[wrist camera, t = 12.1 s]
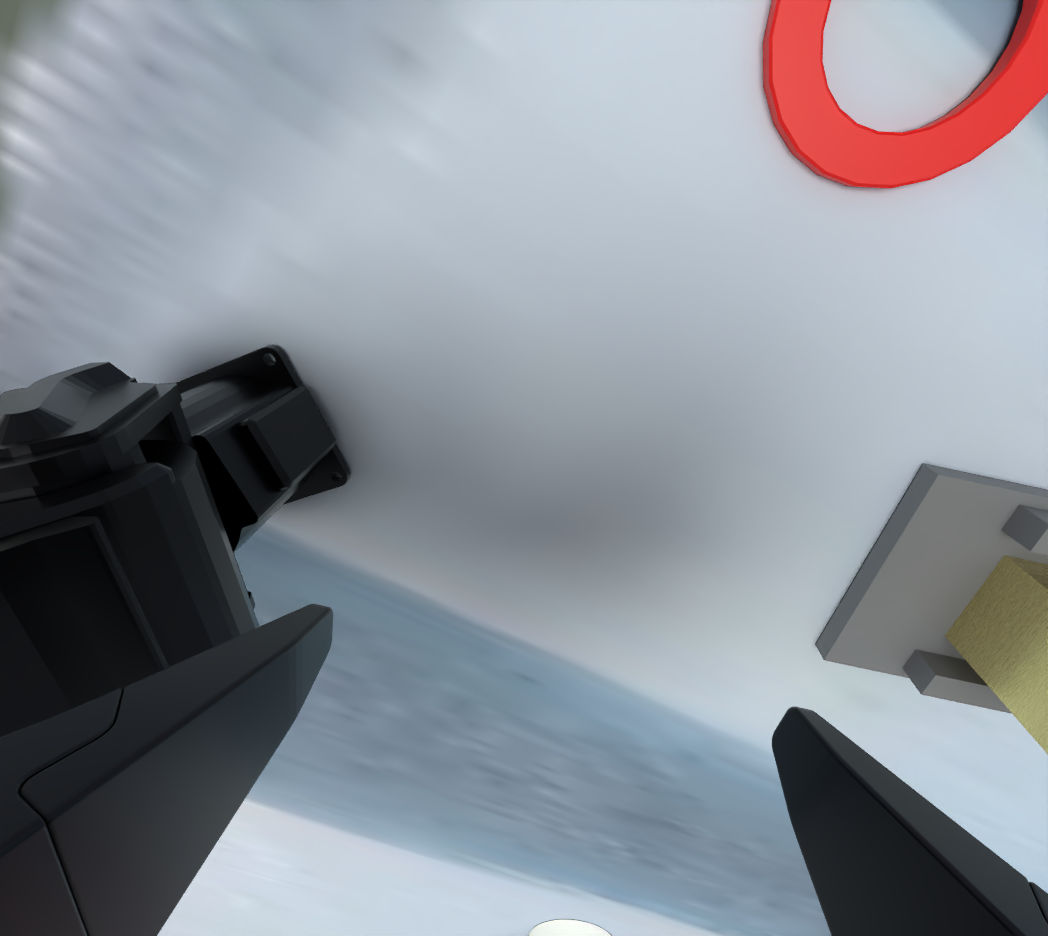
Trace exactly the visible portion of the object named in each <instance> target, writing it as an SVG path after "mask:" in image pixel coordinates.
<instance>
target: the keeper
mask: <svg viewBox="0 0 1048 936" xmlns="http://www.w3.org/2000/svg"><path fill="white" fill-rule="evenodd" d="M1004 555H1007V556H1011V557H1016V558H1021V559H1025V560H1030V561H1035V562H1039V563H1044V564H1048V490H1045V489H1040V488H1035V487H1031V486H1026V485H1021V484H1017V483H1012V482H1007V481H1002V480H998V479H993V478H988V477H984V476H979V475H974V474H969V473H965V472H960V471H955V470H951V469H946V468H941V467H936V466H932V465H927V464H923V465H922V466H921V468H920V470H919V471H918V473H917V475H916V476H915V478H914V480H913V481H912V483H911V485H910V487H909V488H908V490H907V492H906V493H905V495H904V497H903V498H902V500H901V502H900V503H899V505H898V507H897V508H896V510H895V512H894V513H893V515H892V517H891V518H890V520H889V522H888V523H887V525H886V527H885V528H884V530H883V532H882V534H881V535H880V537H879V539H878V540H877V542H876V544H875V545H874V547H873V549H872V550H871V552H870V554H869V555H868V557H867V559H866V560H865V562H864V564H863V565H862V567H861V569H860V570H859V572H858V574H857V575H856V577H855V579H854V581H853V582H852V584H851V586H850V587H849V589H848V591H847V592H846V594H845V596H844V597H843V599H842V601H841V602H840V604H839V606H838V607H837V609H836V611H835V612H834V614H833V616H832V617H831V619H830V621H829V623H828V624H827V626H826V628H825V629H824V631H823V633H822V634H821V636H820V638H819V639H818V641H817V643H816V644H815V645H816V646H817V648H818V650H819V652H820V654H821V655H822V657H823V659H824V660H826V661H831V662H835V663H840V664H845V665H850V666H854V667H859V668H864V669H869V670H873V671H878V672H883V673H888V674H892V675H897V676H902V677H907V678H910V679H911V681H912V682H913V684H914V685H915V686H916V688H917V689H918V691H919V692H920V693H921V694H922V695H927V696H931V697H936V698H941V699H946V700H950V701H955V702H960V703H965V704H969V705H974V706H979V707H983V708H988V709H993V710H998V711H1002V712H1007V713H1011V711H1010V710H1009V709H1008V708H1007V707H1006V706H1005V705H1004V703H1003V702H1002V701H1001V700H1000V699H999V698H998V697H997V695H996V694H995V693H994V692H993V691H992V690H991V689H990V687H989V686H988V685H987V684H986V683H985V682H984V681H983V679H982V678H981V677H980V676H979V675H978V674H977V672H976V671H975V670H974V669H973V668H972V667H971V666H970V664H969V663H968V662H967V661H966V660H965V659H964V658H963V656H962V655H961V654H960V653H959V652H958V651H957V650H956V648H955V647H954V646H953V645H952V644H951V643H950V642H949V640H948V639H947V638H946V637H945V635H946V633H947V632H948V631H949V629H950V628H951V627H952V625H953V624H954V622H955V621H956V620H957V618H958V617H959V616H960V614H961V613H962V612H963V610H964V609H965V608H966V606H967V605H968V604H969V602H970V601H971V600H972V598H973V597H974V596H975V594H976V593H977V591H978V590H979V589H980V587H981V586H982V585H983V583H984V582H985V581H986V579H987V578H988V577H989V575H990V574H991V573H992V571H993V570H994V569H995V567H996V566H997V565H998V563H999V562H1000V560H1001V559H1002V558H1003V556H1004Z"/></svg>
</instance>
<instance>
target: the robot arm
mask: <svg viewBox="0 0 1048 936" xmlns="http://www.w3.org/2000/svg"><path fill="white" fill-rule="evenodd" d="M269 353H270V354H272V355H273V356H274V357H275V360H276V362H275V363H273V362H271V361H270V359H269V356H268V355H269ZM334 471H337V472H339V473H340V474H341V476H342V477H338V476H336V475H335V473H334ZM350 475H351V472H350V469H349V468H348V466H347V464H346V462H345V460H344V459H343V457H342V455H341V453H340V451H339V450H338V448H337V446H336V444H335V438H334V436H333V435H332V433H331V431H330V429H329V427H328V426H327V424H326V422H325V420H324V418H323V417H322V415H321V413H320V411H319V409H318V408H317V406H316V404H315V402H314V400H313V399H312V397H311V395H310V393H309V391H308V390H307V389H305V388H304V387H303V385H302V383H301V381H300V380H299V378H298V376H297V374H296V372H295V371H294V369H293V367H292V365H291V363H290V362H289V360H288V358H287V356H286V355H285V353H284V352H283V350H282V349H281V348H279V347H278V346H275V345H269V346H266V347H263V348H261V349H258V350H256V351H254V352H251V353H249V354H246V355H244V356H241V357H239V358H236V359H234V360H231V361H229V362H226V363H224V364H222V365H219V366H217V367H214V368H212V369H209V370H207V371H204V372H202V373H199V374H197V375H194V376H192V377H190V378H187V379H185V380H182V381H180V382H177V383H166V384H150V383H137V381H136V379H135V378H130V377H129V376H127V375H126V374H125V373H123V372H122V371H120V370H119V369H118V368H116V367H115V366H114V365H112V364H111V363H109V362H103V363H89V364H86V365H83V366H79V367H76V368H73V369H70V370H66V371H63V372H60V373H57V374H54V375H51V376H48V377H46V378H43V379H41V380H39V381H37V382H35V383H33V384H32V385H31V386H29V388H20V389H14V390H10V391H6V392H4V393H2V394H1V395H0V936H157V935H158V933H159V932H160V930H161V929H162V927H163V925H164V924H165V922H166V921H167V919H168V918H169V916H170V915H171V913H172V911H173V910H174V908H175V907H176V905H177V904H178V902H179V901H180V899H181V897H182V896H183V894H184V893H185V891H186V890H187V888H188V886H189V885H190V883H191V882H192V880H193V879H194V877H195V876H196V874H197V872H198V871H199V869H200V868H201V866H202V865H203V863H204V862H205V860H206V858H207V857H208V855H209V854H210V852H211V851H212V849H213V848H214V846H215V844H216V843H217V841H218V840H219V838H220V837H221V835H222V833H223V832H224V830H225V829H226V827H227V826H228V824H229V823H230V821H231V819H232V818H233V816H234V815H235V813H236V812H237V810H238V809H239V807H240V805H241V804H242V802H243V801H244V799H245V798H246V796H247V795H248V793H249V791H250V790H251V788H252V787H253V785H254V784H255V782H256V780H257V779H258V777H259V776H260V774H261V773H262V771H263V770H264V768H265V766H266V765H267V763H268V762H269V760H270V759H271V757H272V756H273V754H274V752H275V751H276V749H277V748H278V746H279V745H280V743H281V741H282V740H283V738H284V737H285V735H286V734H287V732H288V731H289V729H290V727H291V726H292V724H293V722H294V721H295V719H296V717H297V715H298V713H299V711H300V710H301V708H302V706H303V704H304V702H305V699H306V697H307V695H308V693H309V691H310V689H311V687H312V685H313V683H314V681H315V679H316V677H317V675H318V673H319V671H320V669H321V667H322V665H323V663H324V661H325V659H326V656H327V654H328V652H329V649H330V646H331V642H332V628H333V611H332V609H331V608H330V607H326V606H322V605H317V604H311V605H308V606H305V607H303V608H301V609H299V610H296V611H294V612H292V613H290V614H287V615H285V616H283V617H280V618H278V619H276V620H274V621H271V622H269V623H267V624H265V625H262V626H260V627H259V624H258V621H257V618H256V615H255V613H254V607H255V603H254V600H253V597H252V594H251V592H249V591H247V589H246V586H245V583H244V581H243V578H242V575H241V572H240V569H239V567H238V564H237V561H236V558H235V555H234V552H235V551H236V550H237V549H238V548H239V547H240V546H241V545H242V544H243V543H245V542H246V541H247V540H248V539H249V538H250V537H251V536H252V535H253V534H254V533H255V532H256V531H257V530H258V529H259V528H260V527H261V526H262V525H263V524H264V523H265V522H266V521H267V520H268V519H269V518H270V517H271V516H272V515H273V514H274V513H275V512H276V511H277V510H278V509H279V508H280V507H281V506H282V505H283V504H286V503H289V502H293V501H296V500H299V499H302V498H305V497H308V496H311V495H314V494H318V493H321V492H324V491H327V490H330V489H333V488H336V487H340V486H342V485H344V484H345V483H346V482H347V481H348V480H349V478H350ZM772 749H773V753H774V757H775V761H776V765H777V769H778V773H779V777H780V781H781V785H782V789H783V793H784V797H785V801H786V805H787V809H788V812H789V816H790V819H791V823H792V826H793V829H794V832H795V835H796V838H797V841H798V844H799V846H800V849H801V852H802V855H803V857H804V860H805V863H806V866H807V869H808V871H809V874H810V877H811V880H812V882H813V885H814V888H815V891H816V894H817V896H818V899H819V902H820V905H821V908H822V910H823V913H824V916H825V919H826V921H827V924H828V927H829V930H830V933H831V935H832V936H1048V894H1047V893H1046V892H1045V891H1044V890H1042V889H1041V888H1040V887H1038V886H1037V885H1036V884H1034V883H1033V882H1028V880H1027V879H1026V877H1024V876H1023V875H1022V874H1021V873H1019V872H1018V871H1017V870H1016V869H1014V868H1013V867H1012V866H1010V865H1009V864H1008V863H1007V862H1005V861H1004V860H1003V859H1001V858H1000V857H999V856H998V855H996V854H995V853H994V852H993V851H991V850H990V849H989V848H987V847H986V846H985V845H984V844H982V843H981V842H980V841H979V840H977V839H976V838H975V837H973V836H972V835H971V834H970V833H968V832H967V831H966V830H965V829H963V828H962V827H961V826H959V825H958V824H957V823H956V822H954V821H953V820H952V819H951V818H949V817H948V816H947V815H945V814H944V813H943V812H942V811H940V810H939V809H938V808H937V807H935V806H934V805H933V804H931V803H930V802H929V801H928V800H926V799H925V798H924V797H923V796H921V795H920V794H919V793H917V792H916V791H915V790H914V789H912V788H911V787H910V786H909V785H907V784H906V783H905V782H903V781H902V780H901V779H900V778H898V777H897V776H896V775H895V774H893V773H892V772H891V771H889V770H888V769H887V768H886V767H884V766H883V765H882V764H880V763H879V762H878V761H877V760H875V759H874V758H873V757H872V756H870V755H869V754H868V753H866V752H865V751H864V750H863V749H861V748H860V747H859V746H858V745H856V744H855V743H854V742H852V741H851V740H850V739H849V738H847V737H846V736H845V735H844V734H842V733H841V732H840V731H838V730H837V729H836V728H835V727H833V726H832V725H831V724H830V723H828V722H827V721H826V720H824V719H823V718H822V717H821V716H819V715H818V714H817V713H815V712H814V711H812V710H809V709H804V708H799V707H791V708H789V709H788V710H787V712H786V713H785V715H784V717H783V718H782V720H781V721H780V723H779V725H778V726H777V728H776V730H775V731H774V733H773V737H772Z"/></svg>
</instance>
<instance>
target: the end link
mask: <svg viewBox="0 0 1048 936" xmlns="http://www.w3.org/2000/svg"><path fill="white" fill-rule="evenodd" d="M945 637H946V638H947V639H948V640H949V642H950V643H951V644H952V645H953V646H954V647H955V648H956V650H957V651H958V652H959V653H960V654H961V655H962V656H963V658H964V659H965V660H966V661H967V662H968V663H969V664H970V666H971V667H972V668H973V669H974V670H975V671H976V672H977V674H978V675H979V676H980V677H981V678H982V679H983V681H984V682H985V683H986V684H987V685H988V686H989V687H990V689H991V690H992V691H993V692H994V693H995V694H996V695H997V697H998V698H999V699H1000V700H1001V701H1002V702H1003V703H1004V705H1005V706H1006V707H1007V708H1008V709H1009V710H1010V711H1011V713H1012V714H1013V715H1014V716H1015V717H1016V718H1017V719H1018V721H1019V722H1020V723H1021V724H1022V725H1023V726H1024V727H1025V729H1026V730H1027V731H1028V732H1029V733H1030V734H1031V735H1032V737H1033V738H1034V739H1035V740H1036V741H1037V742H1038V744H1039V745H1040V746H1041V747H1042V748H1043V749H1044V750H1045V752H1046V753H1047V754H1048V564H1044V563H1039V562H1035V561H1030V560H1025V559H1021V558H1016V557H1011V556H1007V555H1004V556H1003V558H1002V559H1001V560H1000V562H999V563H998V565H997V566H996V567H995V569H994V570H993V571H992V573H991V574H990V575H989V577H988V578H987V579H986V581H985V582H984V583H983V585H982V586H981V587H980V589H979V590H978V591H977V593H976V594H975V596H974V597H973V598H972V600H971V601H970V602H969V604H968V605H967V606H966V608H965V609H964V610H963V612H962V613H961V614H960V616H959V617H958V618H957V620H956V621H955V622H954V624H953V625H952V627H951V628H950V629H949V631H948V632H947V633H946V635H945Z"/></svg>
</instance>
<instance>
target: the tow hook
mask: <svg viewBox="0 0 1048 936" xmlns="http://www.w3.org/2000/svg"><path fill="white" fill-rule="evenodd" d="M830 3H831V0H772V3H771V8H770V12H769V17H768V22H767V27H766V31H765V36H764V41H763V87H764V91H765V94H766V98H767V102H768V106H769V109H770V113H771V117H772V120H773V124H774V126H775V127H776V129H777V130H778V132H779V134H780V135H781V137H782V139H783V140H784V142H785V144H786V145H787V147H788V148H789V150H790V152H791V153H792V154H793V155H794V156H795V157H796V158H798V159H799V160H800V161H801V162H802V163H804V164H805V165H806V166H807V167H808V168H809V169H811V170H812V171H813V172H814V173H815V174H817V175H819V176H822V177H824V178H827V179H830V180H832V181H835V182H838V183H840V184H843V185H845V186H853V187H871V188H894V187H899V186H903V185H908V184H913V183H917V182H922V181H927V180H931V179H933V178H935V177H937V176H939V175H942V174H944V173H946V172H948V171H950V170H952V169H955V168H957V167H959V166H961V165H963V164H965V163H967V162H970V161H971V160H973V159H974V158H975V157H977V156H978V155H980V154H981V153H982V152H984V151H985V150H986V149H988V148H989V147H991V146H992V145H993V144H995V143H996V142H997V141H999V140H1000V139H1002V138H1003V137H1004V136H1006V135H1007V134H1008V133H1010V132H1011V131H1012V130H1013V129H1014V128H1015V127H1016V126H1017V125H1018V124H1019V123H1020V121H1021V120H1022V119H1023V118H1024V117H1025V116H1026V115H1027V114H1028V113H1029V112H1030V111H1031V110H1032V109H1033V108H1034V107H1035V106H1036V105H1037V104H1038V103H1039V102H1040V101H1041V100H1042V99H1043V98H1044V96H1045V95H1046V94H1047V93H1048V0H1024V1H1023V7H1022V12H1021V14H1020V17H1019V20H1018V22H1017V25H1016V27H1015V30H1014V32H1013V35H1012V38H1011V40H1010V43H1009V44H1008V46H1007V48H1006V49H1005V51H1004V53H1003V54H1002V56H1001V57H1000V59H999V61H998V62H997V64H996V65H995V67H994V69H993V70H992V72H991V73H990V74H989V75H988V76H987V78H986V79H985V80H984V81H983V82H982V83H981V84H980V85H979V86H978V88H977V89H976V90H975V91H974V92H973V93H972V94H971V95H970V97H968V98H967V99H966V100H964V101H963V102H962V103H961V104H959V105H958V106H957V107H955V108H954V109H953V110H952V111H950V112H949V113H948V114H946V115H945V116H943V117H941V118H939V119H937V120H935V121H933V122H931V123H929V124H927V125H925V126H923V127H921V128H919V129H915V130H911V131H907V132H902V133H897V132H878V131H876V130H873V129H870V128H868V127H865V126H863V125H860V124H857V123H856V122H855V121H854V120H853V119H852V118H850V117H849V116H848V115H847V114H846V113H845V112H844V111H842V110H841V109H840V108H839V106H838V104H837V102H836V100H835V99H834V97H833V95H832V93H831V92H830V90H829V88H828V85H827V80H826V75H825V71H824V66H823V62H822V57H823V31H824V27H825V23H826V19H827V15H828V11H829V7H830Z"/></svg>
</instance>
